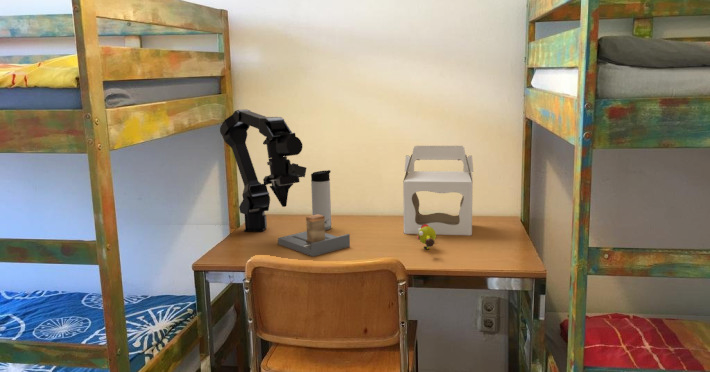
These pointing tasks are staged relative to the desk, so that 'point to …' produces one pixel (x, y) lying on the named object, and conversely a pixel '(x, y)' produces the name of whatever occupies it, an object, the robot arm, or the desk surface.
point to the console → (315, 248)
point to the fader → (315, 228)
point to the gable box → (438, 191)
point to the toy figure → (426, 236)
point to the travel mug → (321, 196)
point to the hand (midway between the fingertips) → (284, 206)
